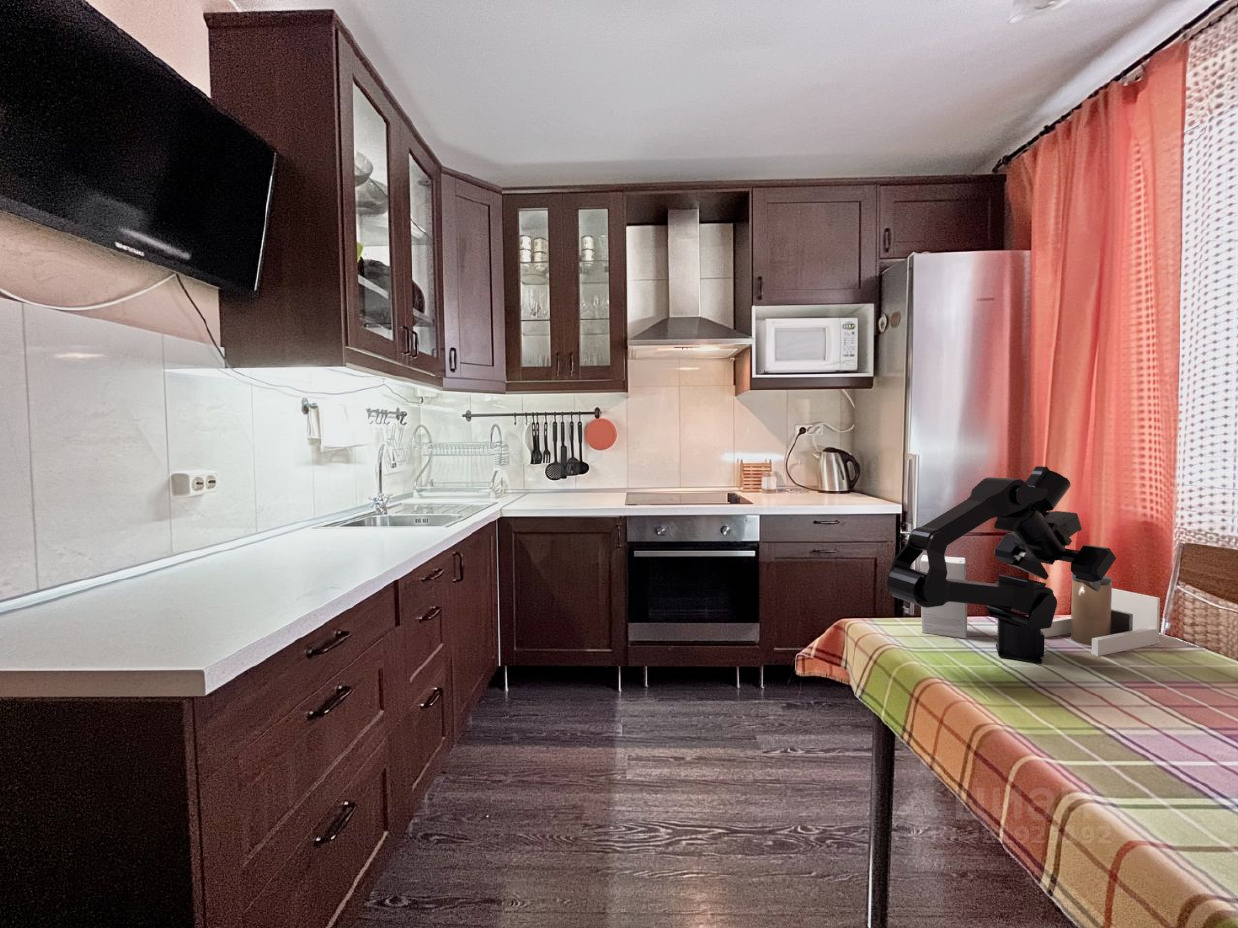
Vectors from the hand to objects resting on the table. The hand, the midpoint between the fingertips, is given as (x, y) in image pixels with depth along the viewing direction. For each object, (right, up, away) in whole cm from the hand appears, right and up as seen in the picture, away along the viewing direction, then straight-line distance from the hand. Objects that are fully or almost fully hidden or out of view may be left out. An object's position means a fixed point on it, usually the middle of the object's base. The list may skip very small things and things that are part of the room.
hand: (1071, 583), depth 106 cm
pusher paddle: (+11, -12, +5) cm, 17 cm away
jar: (+6, -12, +3) cm, 14 cm away
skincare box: (-19, -12, +9) cm, 25 cm away
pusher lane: (+8, -12, +4) cm, 15 cm away
